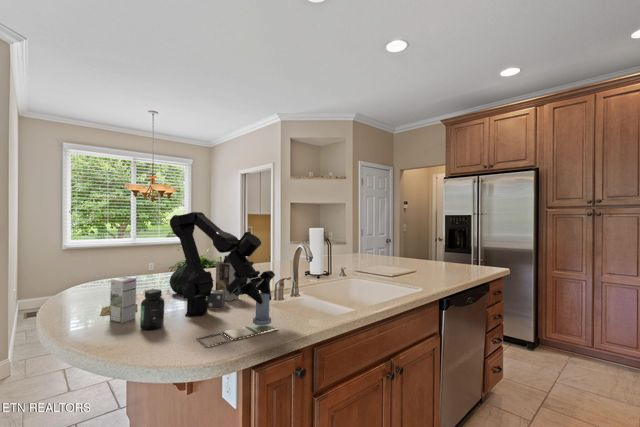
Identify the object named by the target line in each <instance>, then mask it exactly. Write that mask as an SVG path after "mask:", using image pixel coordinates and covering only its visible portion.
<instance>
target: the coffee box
mask: <svg viewBox="0 0 640 427" xmlns="http://www.w3.org/2000/svg"><path fill="white" fill-rule="evenodd" d="M234 273H235V270H234V269H233V267H232V265H231V264H230V263H225V264H224V263H223V261H221V262H216V263H215V290H225V301H226V300H227V301H226V302H231V301H234V300H233V299H235V300H238V299H237V298H240V295H238V296H236V295H235V294H232V295H230V294H229V292H228V291H227V289H226V284H227V283H231V282H232V281H233V280H234V279H235V276H234ZM230 300H231V301H230Z"/></svg>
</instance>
